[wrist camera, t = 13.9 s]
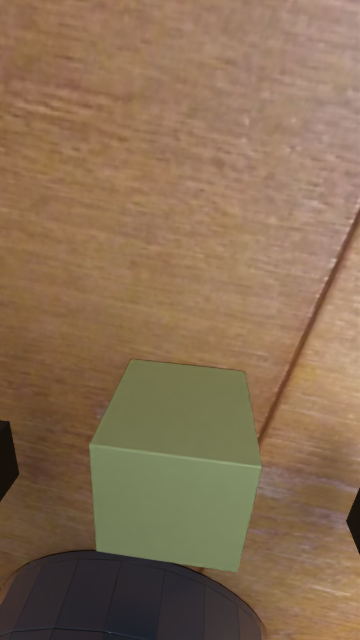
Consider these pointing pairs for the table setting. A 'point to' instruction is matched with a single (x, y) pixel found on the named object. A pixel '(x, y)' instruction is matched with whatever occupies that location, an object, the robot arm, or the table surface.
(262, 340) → the table surface
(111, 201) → the table surface
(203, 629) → the navy round tub
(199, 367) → the sage block
